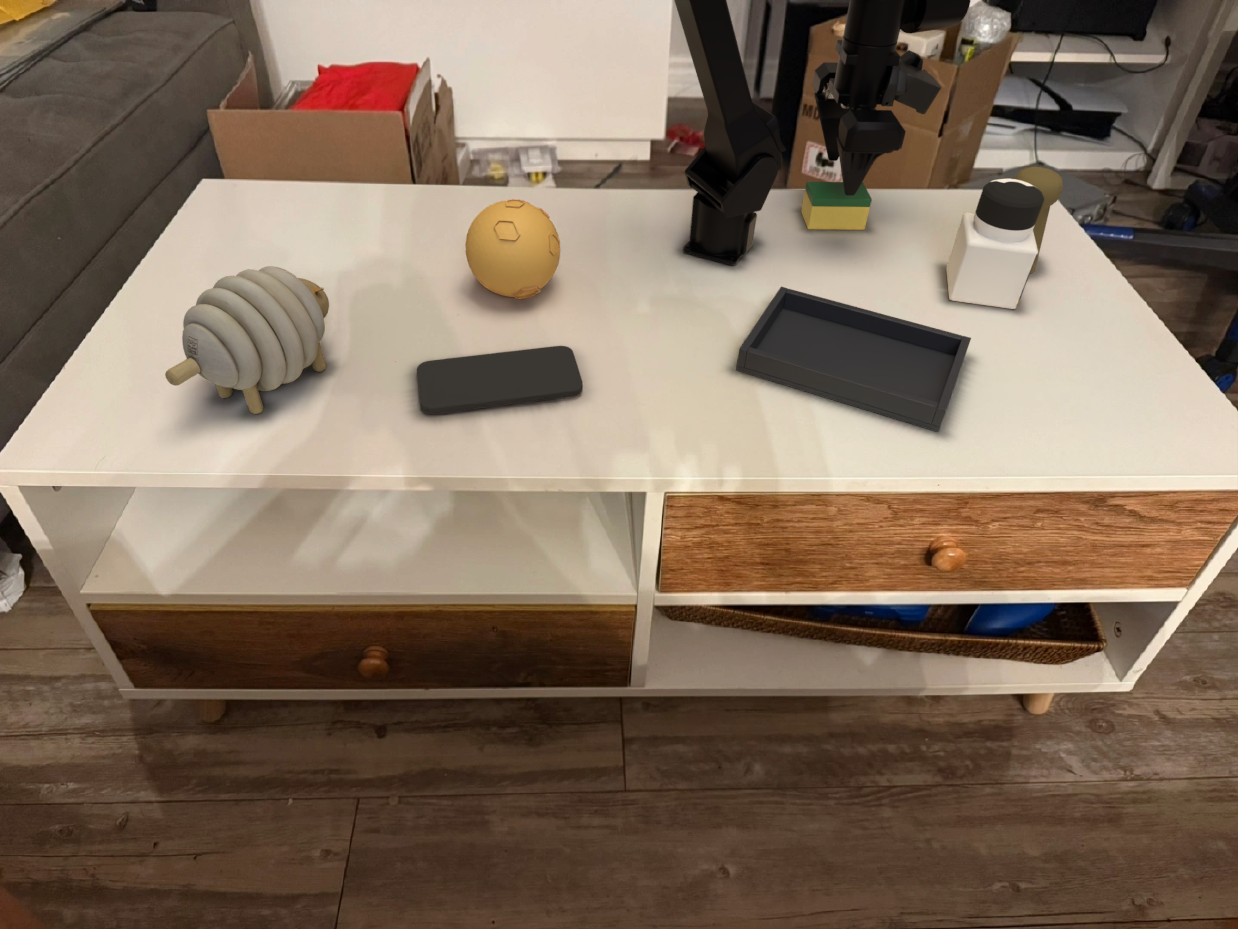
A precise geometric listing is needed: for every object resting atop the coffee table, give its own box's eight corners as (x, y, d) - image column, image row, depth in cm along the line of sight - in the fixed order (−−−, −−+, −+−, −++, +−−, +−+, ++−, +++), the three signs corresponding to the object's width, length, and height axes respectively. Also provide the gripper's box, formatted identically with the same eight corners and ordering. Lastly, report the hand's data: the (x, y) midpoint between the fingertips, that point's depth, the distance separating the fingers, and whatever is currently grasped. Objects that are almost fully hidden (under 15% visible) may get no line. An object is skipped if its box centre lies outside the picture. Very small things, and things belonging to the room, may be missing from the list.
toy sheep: (372, 356, 87) (352, 254, 79) (242, 457, 76) (204, 351, 68) (290, 324, 90) (263, 224, 82) (155, 417, 79) (109, 312, 71)
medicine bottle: (1016, 310, 96) (1057, 207, 87) (948, 301, 97) (982, 198, 88) (1009, 276, 101) (1047, 176, 92) (945, 268, 102) (977, 167, 93)
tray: (735, 370, 86) (739, 348, 85) (777, 307, 95) (781, 286, 93) (938, 432, 80) (946, 410, 79) (963, 359, 89) (971, 337, 87)
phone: (415, 361, 85) (570, 343, 87) (417, 368, 85) (570, 350, 88) (420, 410, 79) (585, 389, 82) (421, 417, 80) (585, 396, 83)
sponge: (807, 229, 107) (813, 198, 105) (800, 211, 111) (806, 181, 108) (864, 229, 108) (872, 199, 105) (856, 212, 111) (863, 181, 108)
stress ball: (474, 319, 92) (465, 231, 85) (466, 270, 99) (457, 185, 92) (569, 310, 93) (568, 223, 86) (554, 262, 100) (552, 178, 93)
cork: (1013, 245, 106) (1046, 156, 98) (1047, 271, 102) (1084, 180, 94) (971, 253, 104) (1001, 163, 97) (1003, 279, 100) (1037, 187, 93)
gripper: (972, 70, 88) (930, 215, 99) (919, 11, 102) (887, 144, 112) (862, 68, 88) (831, 214, 98) (824, 9, 101) (800, 143, 112)
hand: (841, 176), depth 105 cm, fingers open, 9 cm apart
